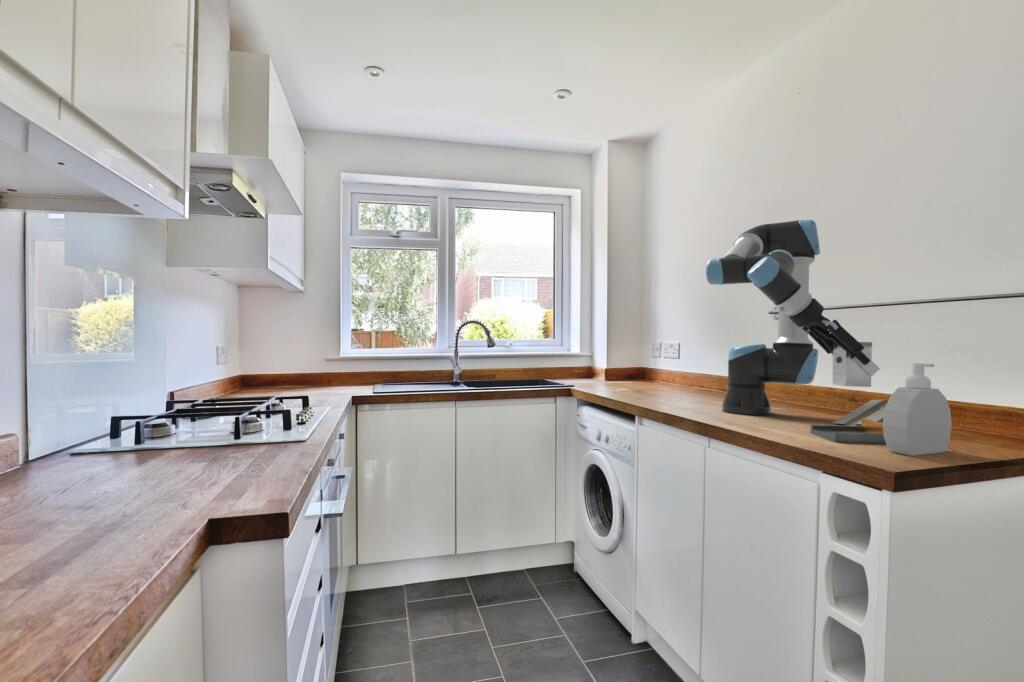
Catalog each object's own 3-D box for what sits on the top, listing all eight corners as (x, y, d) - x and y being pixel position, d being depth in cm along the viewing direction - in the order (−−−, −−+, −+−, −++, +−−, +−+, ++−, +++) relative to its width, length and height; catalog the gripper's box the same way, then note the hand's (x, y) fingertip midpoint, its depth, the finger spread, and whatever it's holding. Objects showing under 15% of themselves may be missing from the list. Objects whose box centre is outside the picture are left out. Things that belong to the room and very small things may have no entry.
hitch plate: (810, 432, 134) (810, 417, 134) (865, 434, 132) (866, 418, 132) (835, 442, 122) (835, 424, 122) (896, 443, 120) (896, 426, 120)
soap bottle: (908, 457, 106) (909, 364, 106) (881, 452, 111) (883, 363, 111) (953, 452, 112) (955, 363, 112) (926, 447, 117) (928, 362, 117)
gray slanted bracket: (895, 448, 134) (930, 411, 136) (872, 424, 135) (907, 387, 137) (851, 445, 150) (883, 412, 152) (830, 423, 151) (862, 390, 153)
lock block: (831, 384, 130) (831, 341, 130) (856, 384, 130) (857, 342, 130) (844, 386, 124) (845, 341, 124) (871, 386, 124) (872, 342, 124)
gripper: (773, 318, 138) (835, 378, 136) (807, 315, 119) (879, 385, 117) (793, 299, 137) (855, 359, 136) (831, 293, 118) (903, 363, 117)
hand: (866, 371), depth 127 cm, fingers closed on lock block, 6 cm apart
